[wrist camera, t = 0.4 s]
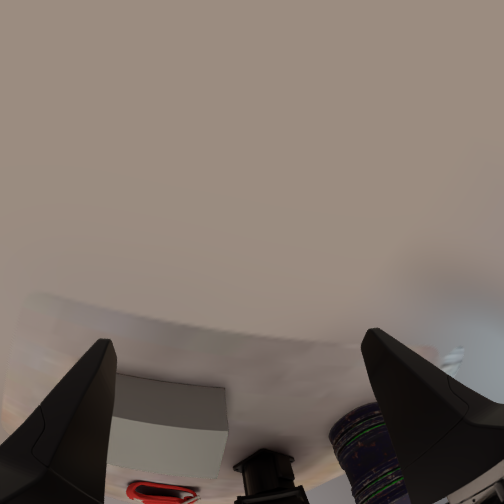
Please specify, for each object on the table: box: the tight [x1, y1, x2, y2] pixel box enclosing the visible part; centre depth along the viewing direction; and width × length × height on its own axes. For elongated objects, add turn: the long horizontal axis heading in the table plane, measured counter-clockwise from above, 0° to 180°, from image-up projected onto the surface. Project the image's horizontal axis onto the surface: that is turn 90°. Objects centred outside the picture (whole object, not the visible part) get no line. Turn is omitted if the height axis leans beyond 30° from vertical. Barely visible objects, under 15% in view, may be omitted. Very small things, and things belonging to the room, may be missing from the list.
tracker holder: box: [126, 482, 201, 504], centre depth 33 cm, size 12×4×10 cm
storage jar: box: [329, 402, 411, 504], centre depth 27 cm, size 10×10×15 cm
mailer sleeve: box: [107, 373, 229, 479], centre depth 25 cm, size 14×10×6 cm
